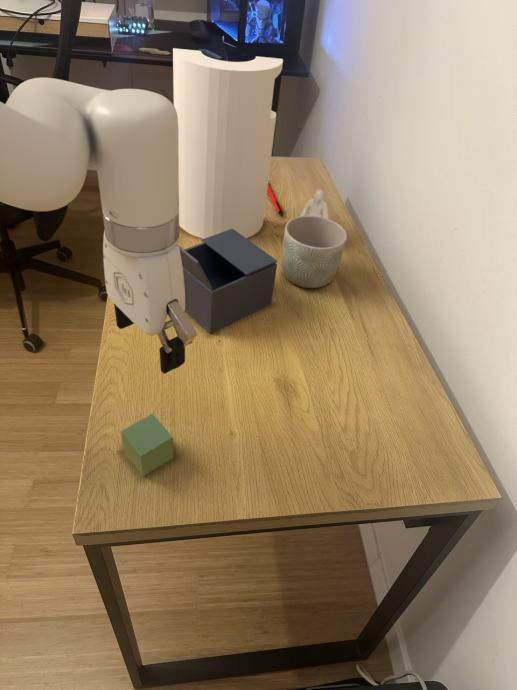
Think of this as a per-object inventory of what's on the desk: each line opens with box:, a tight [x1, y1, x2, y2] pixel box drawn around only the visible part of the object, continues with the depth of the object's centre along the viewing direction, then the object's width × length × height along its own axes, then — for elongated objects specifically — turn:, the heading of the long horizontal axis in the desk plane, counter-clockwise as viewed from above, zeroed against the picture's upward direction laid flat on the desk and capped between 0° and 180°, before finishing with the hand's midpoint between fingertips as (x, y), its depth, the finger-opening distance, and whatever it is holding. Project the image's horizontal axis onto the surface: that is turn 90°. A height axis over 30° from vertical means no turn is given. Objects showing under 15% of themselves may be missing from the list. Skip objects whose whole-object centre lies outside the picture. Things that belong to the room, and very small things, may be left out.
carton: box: [182, 229, 278, 335], centre depth 94 cm, size 15×13×10 cm
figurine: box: [299, 188, 329, 219], centre depth 111 cm, size 8×8×12 cm
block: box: [120, 413, 174, 477], centre depth 69 cm, size 5×5×5 cm
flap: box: [178, 244, 213, 290], centre depth 83 cm, size 7×13×1 cm
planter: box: [281, 214, 348, 289], centre depth 102 cm, size 12×12×11 cm
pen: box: [267, 184, 283, 217], centre depth 129 cm, size 1×19×1 cm, turn 13°
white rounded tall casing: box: [172, 47, 284, 239], centre depth 104 cm, size 35×11×21 cm
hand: (150, 344), depth 63 cm, fingers open, 9 cm apart
